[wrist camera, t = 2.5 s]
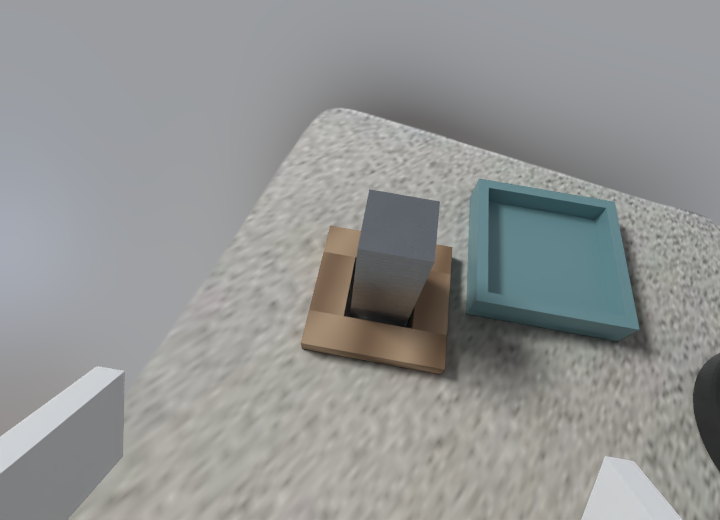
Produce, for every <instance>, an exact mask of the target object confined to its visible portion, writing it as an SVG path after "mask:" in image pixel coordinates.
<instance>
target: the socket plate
mask: <svg viewBox="0 0 720 520" xmlns="http://www.w3.org/2000/svg"><path fill="white" fill-rule="evenodd" d="M360 235H361V231H357V230H351V229H346V228H340V227H334V226H330V229H329V233H328V237H327V241H326V245H325V249H324V253H323V257H322V261H321V265H320V269H319V273H318V277H317V281H316V285H315V289H314V293H313V297H312V301H311V305H310V309H309V313H308V317H307V321H306V325H305V329H304V333H303V337H302V341H301V346H302V349H307V350H312V351H317V352H323V353H328V354H334V355H339V356H344V357H350V358H355V359H361V360H366V361H372V362H377V363H382V364H388V365H393V366H399V367H404V368H409V369H415V370H420V371H426V372H431V373H436V374H441V373H442V372H443V371H444V370H445V360H446V343H447V327H448V310H449V293H450V277H451V260H452V247H447V246H442V245H436V251H435V263H434V265H433V267H432V269H431V271H430V273H429V276H428V278H427V280H426V282H425V284H424V287H423V289H422V291H421V293H420V295H419V298H418V300H417V302H416V304H415V306H414V308H413V311H412V315H411V324H410V328H406V327H400V326H395V325H389V324H384V323H378V322H373V321H367V320H362V319H356V318H351V317H345V316H344V315H345V310H346V305H347V300H348V295H349V290H350V285H351V280H352V275H353V270H354V265H356V259H357V250H358V244H359V239H360Z"/></svg>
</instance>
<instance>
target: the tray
mask: <svg viewBox="0 0 720 520" xmlns="http://www.w3.org/2000/svg"><path fill="white" fill-rule="evenodd" d="M466 314H470V315H475V316H481V317H486V318H492V319H497V320H503V321H508V322H514V323H519V324H525V325H531V326H536V327H542V328H547V329H553V330H558V331H564V332H569V333H575V334H580V335H586V336H591V337H597V338H602V339H608V340H613V341H619V340H621V339H623V338H625V337H627V336H629V335H631V334H633V333H635V332H636V331H638V330H640V329H639V324H638V319H637V314H636V309H635V304H634V298H633V293H632V288H631V283H630V278H629V273H628V268H627V263H626V258H625V252H624V247H623V242H622V237H621V232H620V227H619V222H618V217H617V212H616V206H615V202H612V201H606V200H600V199H594V198H589V197H583V196H577V195H571V194H565V193H560V192H554V191H548V190H542V189H536V188H531V187H525V186H519V185H513V184H507V183H502V182H496V181H490V180H484V179H479V180H478V182H477V184H476V186H475V188H474V190H473V192H472V195H471V197H470V220H469V248H468V276H467V304H466Z"/></svg>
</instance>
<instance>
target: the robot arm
mask: <svg viewBox="0 0 720 520" xmlns="http://www.w3.org/2000/svg"><path fill="white" fill-rule="evenodd" d="M124 375H125V374H124V371H121V370H115V369H110V368H104V367H98V366H97V367H95V368H94V369H92V370H91V371H90V372H88V373H87V374H86V375H84V376H83V377H82V378H80V379H79V380H77V381H76V382H75V383H73V384H72V385H71V386H69V387H68V388H66V389H65V390H64V391H63V392H61V393H60V394H58V395H57V396H55V397H54V398H53V399H51V400H50V401H49V402H47V403H46V404H44V405H43V406H42V407H40V408H39V409H38V410H36V411H35V412H33V413H32V414H31V415H29V416H28V417H27V418H25V419H24V420H23V421H21V422H20V423H18V424H17V425H16V426H14V427H13V428H12V429H10V430H9V431H7V432H6V433H5V434H3V435H2V436H1V437H0V520H68V519H69V517H70V516H71V515H72V514H73V513H74V512H75V511H76V509H77V508H78V507H79V506H80V505H81V504H82V502H83V501H84V500H85V499H86V498H87V497H88V496H89V494H90V493H91V492H92V491H93V490H94V489H95V488H96V486H97V485H98V484H99V483H100V482H101V481H102V480H103V478H104V477H105V476H106V475H107V474H108V473H109V471H110V470H111V469H112V468H113V467H114V466H115V465H116V463H117V462H118V461H119V460H120V459H121V458H122V457H123V429H124ZM693 404H694V413H695V418H696V422H697V426H698V429H699V432H700V435H701V438H702V440H703V443H704V445H705V447H706V449H707V451H708V453H709V455H710V457H711V459H712V460H713V462H714V463H715V465H716V467H717V468H718V470H719V471H720V353H719V354H717V355H715V356H714V357H712V358H711V359H710V360H708V361H707V362H706V363H705V364H704V366H703V367H702V368H701V370H700V372H699V374H698V376H697V379H696V382H695V386H694V394H693ZM581 520H682V519H681V518H680V516H679V515H678V514H677V513H676V512H675V510H674V509H673V508H672V507H671V506H670V504H669V503H668V502H667V501H666V499H665V498H664V497H663V496H662V495H661V493H660V492H659V491H658V490H657V489H656V487H655V486H654V485H653V484H652V483H651V481H650V480H649V479H648V478H647V477H646V475H645V474H644V473H643V472H642V471H641V469H640V468H639V467H638V466H637V465H636V463H635V462H634V461H630V460H624V459H618V458H613V457H607V456H605V458H604V461H603V464H602V466H601V469H600V471H599V474H598V477H597V479H596V482H595V485H594V487H593V490H592V493H591V495H590V498H589V501H588V503H587V506H586V509H585V511H584V514H583V517H582V519H581Z"/></svg>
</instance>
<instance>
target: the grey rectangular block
mask: <svg viewBox="0 0 720 520" xmlns="http://www.w3.org/2000/svg"><path fill="white" fill-rule="evenodd" d="M439 204H440V202H439V201H433V200H427V199H421V198H416V197H410V196H404V195H398V194H393V193H387V192H381V191H375V190H369V195H368V200H367V205H366V210H365V215H364V220H363V225H362V230H361V235H360V239H359V244H358V250H357V259H356V267H355V276H354V284H353V293H352V301H351V310H350V317H351V318H356V319H362V320H367V321H373V322H378V323H384V324H389V325H395V326H400V327H405V326H406V324H407V322H408V319H409V317H410V315H411V313H412V311H413V308H414V306H415V304H416V302H417V300H418V298H419V295H420V293H421V291H422V289H423V287H424V284H425V282H426V280H427V278H428V276H429V273H430V271H431V269H432V267H433V265H434V263H435V251H436V240H437V228H438V216H439Z"/></svg>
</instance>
